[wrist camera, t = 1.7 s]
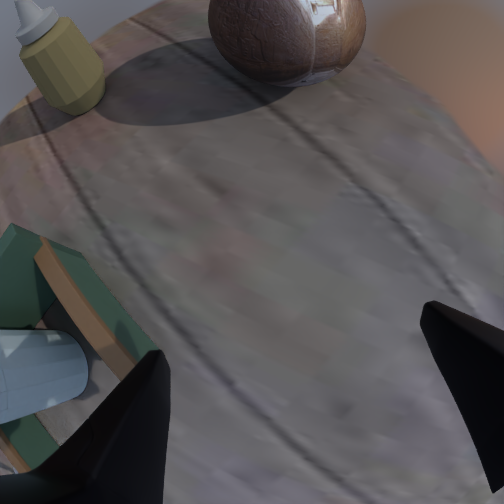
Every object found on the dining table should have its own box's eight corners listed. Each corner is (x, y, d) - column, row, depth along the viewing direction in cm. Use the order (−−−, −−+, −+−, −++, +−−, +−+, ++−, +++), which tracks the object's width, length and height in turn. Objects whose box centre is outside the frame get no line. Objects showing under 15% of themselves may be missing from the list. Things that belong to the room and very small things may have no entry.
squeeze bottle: (126, 85, 29) (70, -31, 11) (78, 133, 28) (-7, 29, 10) (93, 69, 30) (40, -25, 13) (51, 112, 29) (-20, 26, 11)
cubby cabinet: (169, 355, 23) (115, 378, 13) (62, 460, 20) (6, 494, 10) (81, 250, 25) (12, 219, 15) (-3, 369, 22) (-64, 374, 12)
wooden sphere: (272, 140, 27) (281, 5, 12) (192, 62, 29) (168, -42, 15) (372, 85, 28) (415, -14, 14) (289, 23, 31) (297, -67, 16)
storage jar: (95, 398, 22) (-1, 438, 9) (45, 396, 22) (-47, 421, 9) (81, 327, 23) (-26, 325, 11) (33, 332, 23) (-65, 329, 11)
